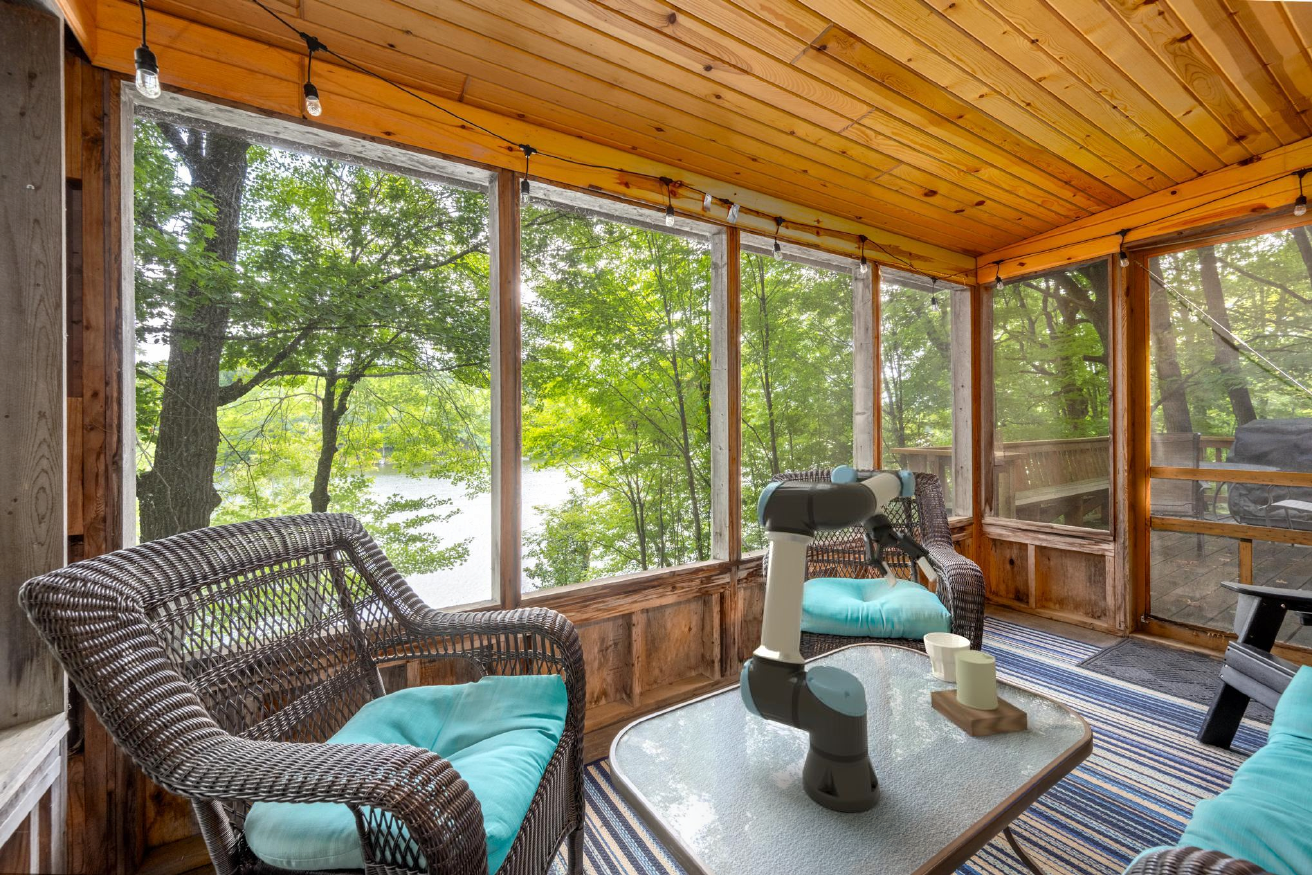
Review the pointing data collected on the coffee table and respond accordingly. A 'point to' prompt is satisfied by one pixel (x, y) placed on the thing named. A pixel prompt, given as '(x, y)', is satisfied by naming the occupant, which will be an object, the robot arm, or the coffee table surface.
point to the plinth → (979, 715)
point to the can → (976, 679)
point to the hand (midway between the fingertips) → (914, 582)
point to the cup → (944, 653)
